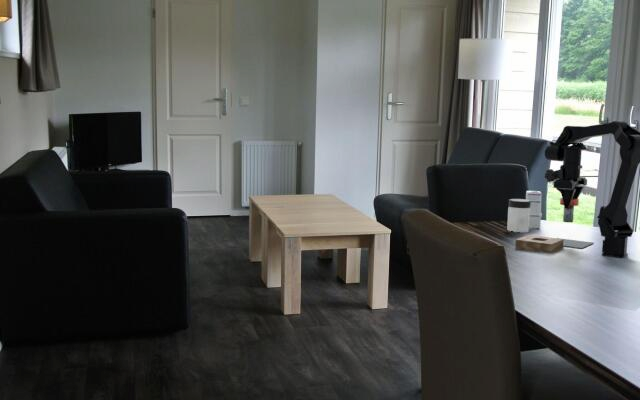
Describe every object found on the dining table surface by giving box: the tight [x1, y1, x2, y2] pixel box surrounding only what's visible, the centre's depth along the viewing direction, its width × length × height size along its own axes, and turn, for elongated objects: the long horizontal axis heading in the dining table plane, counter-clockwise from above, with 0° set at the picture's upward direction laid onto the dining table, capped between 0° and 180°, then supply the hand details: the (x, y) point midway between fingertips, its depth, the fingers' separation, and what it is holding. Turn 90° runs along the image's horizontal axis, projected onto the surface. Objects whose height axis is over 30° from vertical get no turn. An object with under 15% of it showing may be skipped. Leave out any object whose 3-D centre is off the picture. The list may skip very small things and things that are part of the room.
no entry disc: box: [559, 197, 579, 223], centre depth 240 cm, size 6×6×8 cm
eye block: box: [514, 234, 565, 254], centre depth 233 cm, size 12×12×3 cm
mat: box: [557, 237, 594, 250], centre depth 242 cm, size 13×13×1 cm
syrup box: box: [525, 190, 543, 229], centre depth 275 cm, size 6×6×14 cm
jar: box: [506, 198, 531, 233], centre depth 267 cm, size 9×8×12 cm
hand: (569, 207), depth 240 cm, fingers closed on no entry disc, 6 cm apart
